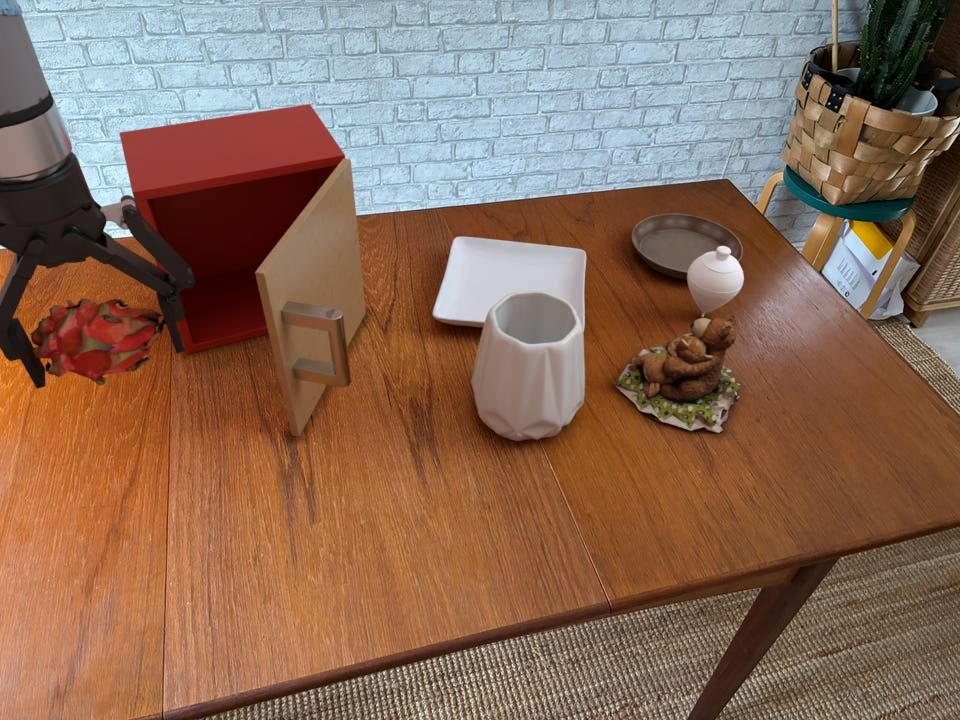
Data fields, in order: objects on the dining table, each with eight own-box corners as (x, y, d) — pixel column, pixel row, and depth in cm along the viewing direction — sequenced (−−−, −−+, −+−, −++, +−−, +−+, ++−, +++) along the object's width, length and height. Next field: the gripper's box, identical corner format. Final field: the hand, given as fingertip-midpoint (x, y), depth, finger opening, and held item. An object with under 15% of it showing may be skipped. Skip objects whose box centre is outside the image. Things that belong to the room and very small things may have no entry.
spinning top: (712, 297, 108) (734, 230, 100) (738, 329, 102) (764, 260, 94) (667, 305, 106) (685, 237, 98) (692, 337, 101) (713, 268, 93)
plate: (584, 264, 113) (587, 246, 111) (581, 352, 98) (584, 333, 95) (453, 251, 114) (453, 233, 112) (430, 336, 99) (430, 317, 97)
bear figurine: (642, 340, 100) (660, 270, 91) (747, 381, 94) (776, 311, 86) (603, 399, 91) (619, 327, 83) (716, 447, 86) (745, 376, 77)
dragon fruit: (43, 390, 70) (173, 369, 75) (33, 399, 62) (178, 375, 67) (25, 305, 68) (158, 290, 74) (13, 303, 61) (162, 286, 66)
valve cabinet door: (408, 319, 101) (401, 166, 85) (350, 447, 84) (326, 283, 67) (359, 311, 102) (343, 158, 86) (291, 435, 85) (254, 272, 68)
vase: (509, 356, 96) (516, 265, 86) (600, 400, 91) (620, 309, 80) (447, 416, 88) (447, 323, 78) (543, 470, 82) (557, 377, 72)
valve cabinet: (361, 310, 103) (345, 154, 86) (187, 354, 95) (132, 192, 78) (329, 252, 113) (310, 103, 96) (170, 287, 105) (119, 132, 88)
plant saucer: (621, 225, 122) (624, 210, 120) (722, 228, 122) (727, 213, 120) (638, 287, 109) (641, 271, 107) (751, 290, 109) (757, 274, 107)
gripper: (177, 118, 62) (229, 309, 77) (-155, 166, 54) (-26, 369, 69) (190, 155, 57) (243, 352, 72) (-173, 215, 49) (-30, 422, 64)
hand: (112, 361), depth 70 cm, fingers closed on dragon fruit, 12 cm apart
